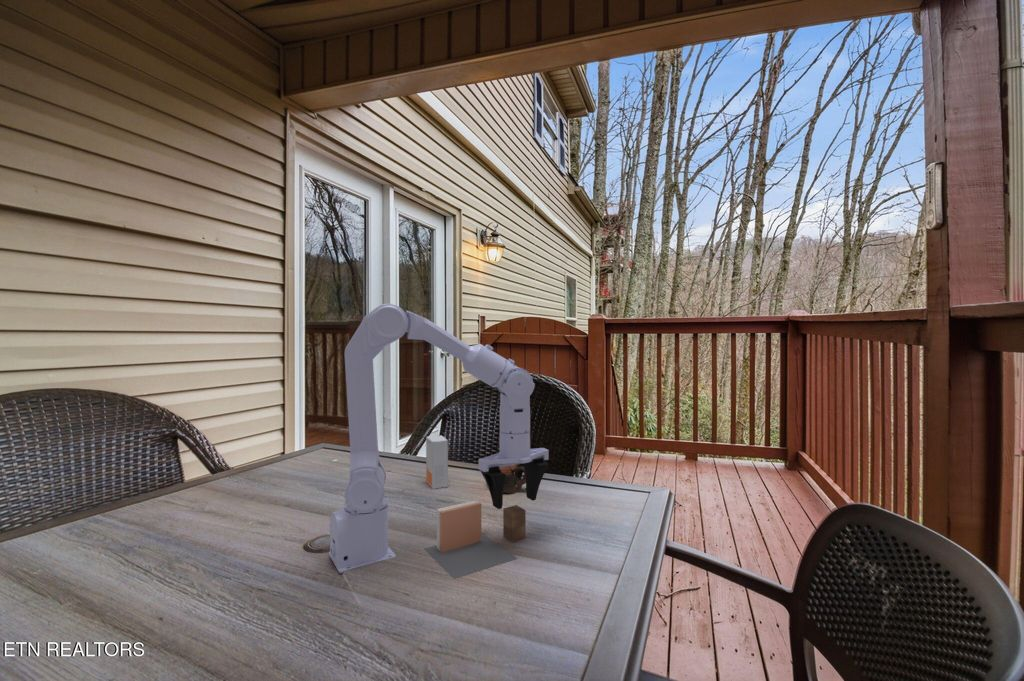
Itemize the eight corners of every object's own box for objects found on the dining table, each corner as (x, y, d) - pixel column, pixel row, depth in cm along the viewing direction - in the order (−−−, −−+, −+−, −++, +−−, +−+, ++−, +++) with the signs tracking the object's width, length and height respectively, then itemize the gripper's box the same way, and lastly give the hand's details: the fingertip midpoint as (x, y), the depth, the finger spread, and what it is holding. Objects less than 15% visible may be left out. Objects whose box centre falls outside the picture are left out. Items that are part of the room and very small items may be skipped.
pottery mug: (479, 495, 114) (478, 461, 118) (496, 501, 121) (495, 469, 125) (525, 488, 110) (522, 453, 114) (540, 495, 117) (537, 462, 121)
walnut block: (512, 545, 86) (512, 513, 86) (503, 539, 89) (503, 508, 89) (525, 541, 88) (525, 510, 88) (516, 535, 91) (516, 505, 90)
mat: (454, 582, 74) (454, 578, 74) (424, 551, 84) (424, 548, 84) (517, 561, 80) (517, 558, 80) (482, 535, 90) (482, 532, 90)
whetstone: (441, 552, 82) (441, 512, 82) (436, 548, 84) (436, 509, 84) (481, 541, 87) (481, 503, 87) (476, 537, 88) (476, 500, 88)
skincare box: (425, 482, 122) (425, 436, 121) (441, 480, 124) (441, 434, 123) (431, 489, 116) (431, 441, 116) (448, 487, 118) (448, 439, 118)
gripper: (492, 440, 81) (492, 518, 81) (558, 430, 89) (558, 501, 89) (472, 432, 86) (472, 505, 87) (536, 423, 94) (536, 490, 95)
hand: (514, 502), depth 88 cm, fingers open, 7 cm apart
